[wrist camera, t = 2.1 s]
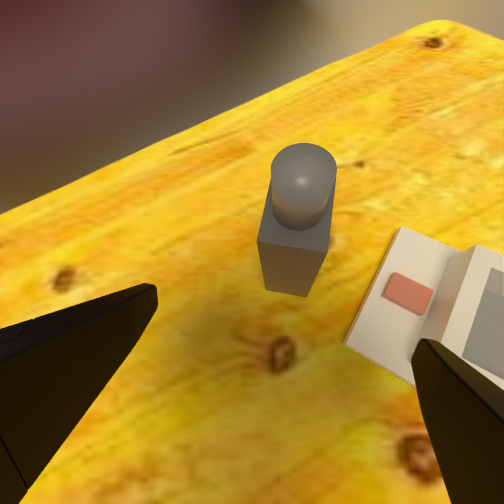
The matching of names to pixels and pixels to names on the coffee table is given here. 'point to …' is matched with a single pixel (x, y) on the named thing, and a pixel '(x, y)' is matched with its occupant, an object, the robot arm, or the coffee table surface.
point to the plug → (297, 218)
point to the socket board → (433, 306)
